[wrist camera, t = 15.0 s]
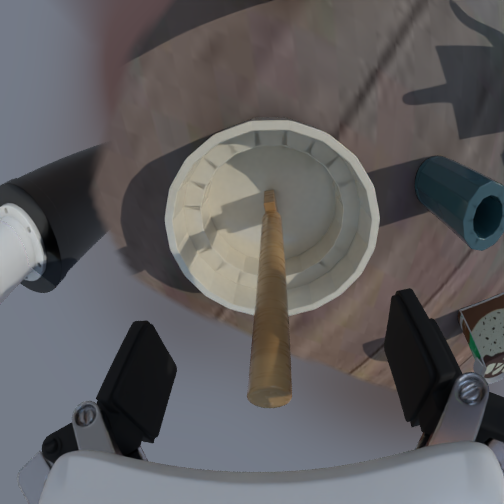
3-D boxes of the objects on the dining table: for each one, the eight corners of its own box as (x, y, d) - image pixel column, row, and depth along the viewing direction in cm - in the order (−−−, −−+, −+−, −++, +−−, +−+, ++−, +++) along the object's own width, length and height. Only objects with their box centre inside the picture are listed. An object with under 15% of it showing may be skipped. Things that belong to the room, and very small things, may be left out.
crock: (404, 185, 21) (452, 223, 14) (436, 143, 19) (493, 166, 12) (435, 219, 23) (480, 262, 16) (465, 180, 20) (517, 213, 13)
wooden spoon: (266, 220, 23) (255, 417, 9) (260, 191, 22) (237, 378, 7) (282, 218, 23) (295, 414, 8) (277, 188, 22) (287, 374, 7)
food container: (441, 343, 31) (466, 398, 22) (450, 312, 28) (482, 371, 19) (500, 319, 29) (528, 364, 20) (511, 288, 26) (546, 334, 17)
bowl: (162, 222, 25) (136, 255, 19) (248, 83, 18) (240, 74, 13) (288, 296, 28) (291, 340, 23) (386, 187, 22) (416, 213, 16)
